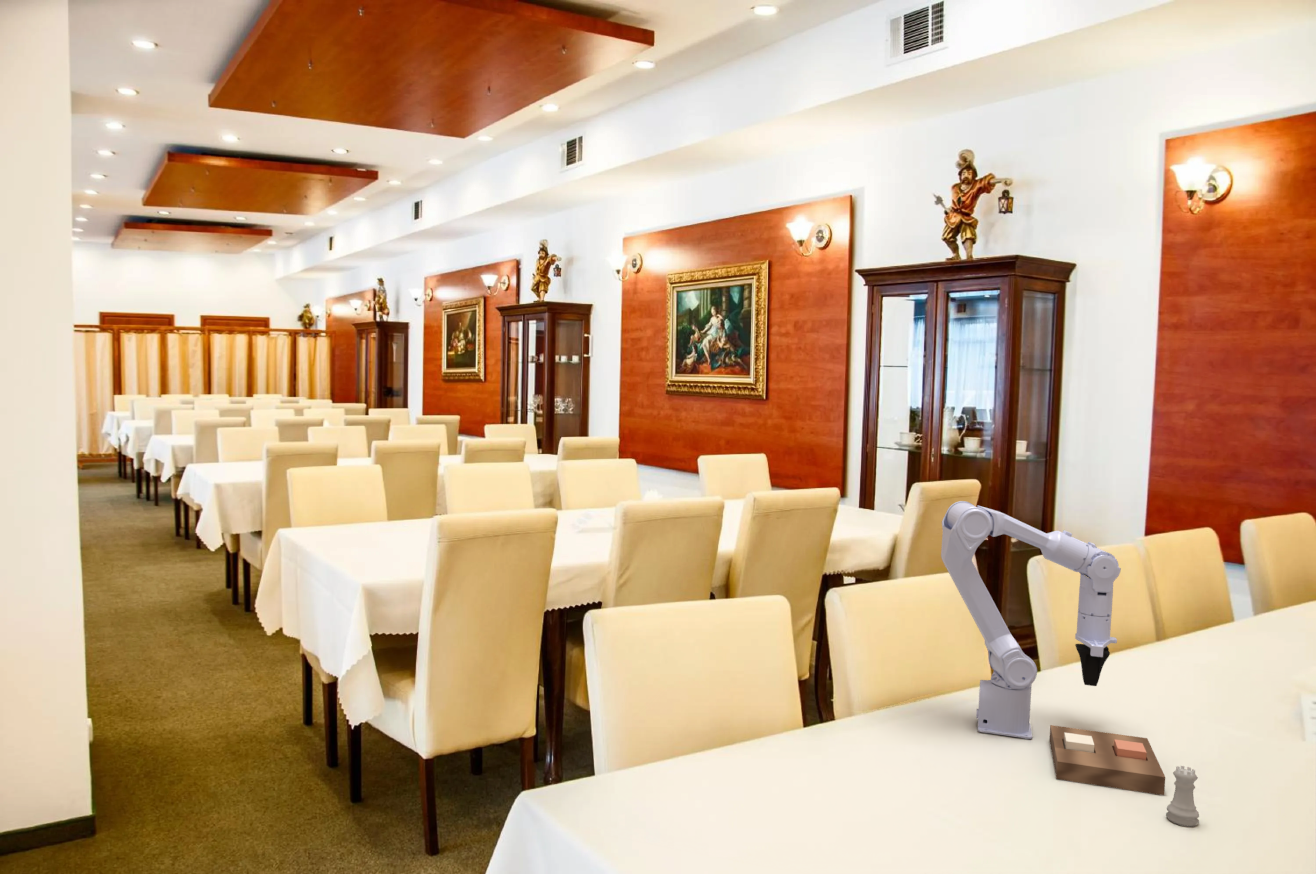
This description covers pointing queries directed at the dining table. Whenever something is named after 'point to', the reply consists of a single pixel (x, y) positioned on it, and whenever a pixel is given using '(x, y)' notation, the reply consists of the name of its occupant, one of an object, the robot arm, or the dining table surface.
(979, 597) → the robot arm
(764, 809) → the dining table surface
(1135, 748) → the terracotta key
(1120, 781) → the key panel
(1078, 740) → the ivory key
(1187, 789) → the rook chess piece
